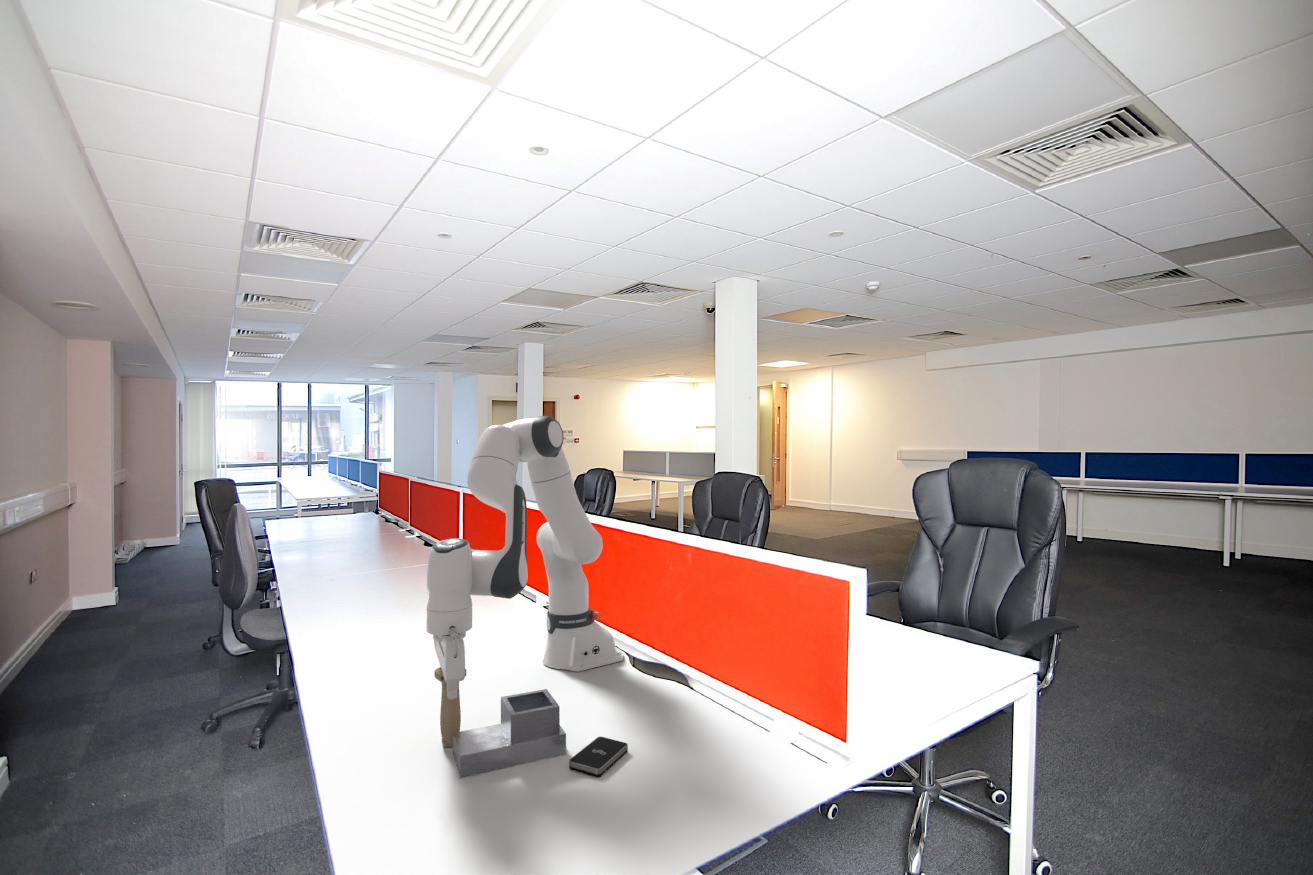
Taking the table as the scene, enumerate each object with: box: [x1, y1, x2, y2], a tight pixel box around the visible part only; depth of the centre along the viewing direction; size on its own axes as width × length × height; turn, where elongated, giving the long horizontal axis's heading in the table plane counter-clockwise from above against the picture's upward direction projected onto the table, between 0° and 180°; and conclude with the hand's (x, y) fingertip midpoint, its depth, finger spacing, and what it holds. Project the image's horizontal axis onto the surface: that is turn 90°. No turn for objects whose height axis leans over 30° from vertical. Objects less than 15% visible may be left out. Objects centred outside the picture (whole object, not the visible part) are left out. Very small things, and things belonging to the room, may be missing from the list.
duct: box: [452, 688, 567, 779], centre depth 121 cm, size 20×10×10 cm, turn 115°
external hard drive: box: [568, 736, 629, 779], centre depth 118 cm, size 7×11×2 cm, turn 153°
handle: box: [433, 666, 467, 749], centre depth 125 cm, size 5×6×15 cm
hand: (449, 688), depth 125 cm, fingers open, 8 cm apart
